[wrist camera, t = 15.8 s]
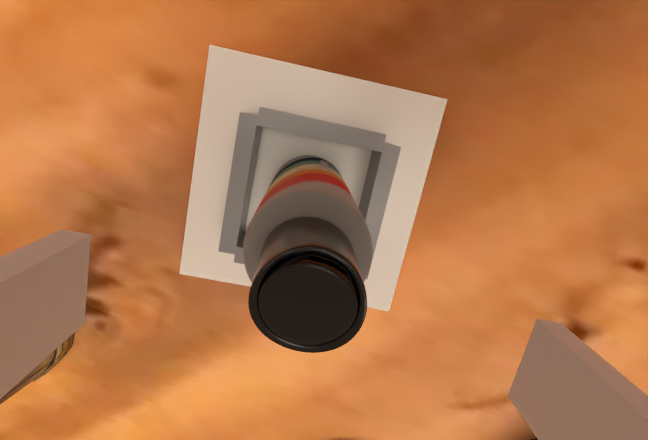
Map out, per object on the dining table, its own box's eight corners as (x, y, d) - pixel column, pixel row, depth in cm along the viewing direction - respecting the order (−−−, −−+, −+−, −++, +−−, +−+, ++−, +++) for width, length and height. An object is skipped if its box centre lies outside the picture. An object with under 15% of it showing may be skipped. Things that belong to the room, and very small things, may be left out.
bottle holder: (441, 99, 32) (467, 96, 26) (385, 303, 36) (399, 335, 31) (214, 47, 30) (194, 33, 25) (184, 267, 35) (162, 294, 29)
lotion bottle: (356, 173, 31) (432, 267, 12) (325, 235, 33) (349, 412, 13) (290, 141, 31) (259, 189, 11) (260, 207, 32) (187, 350, 13)
